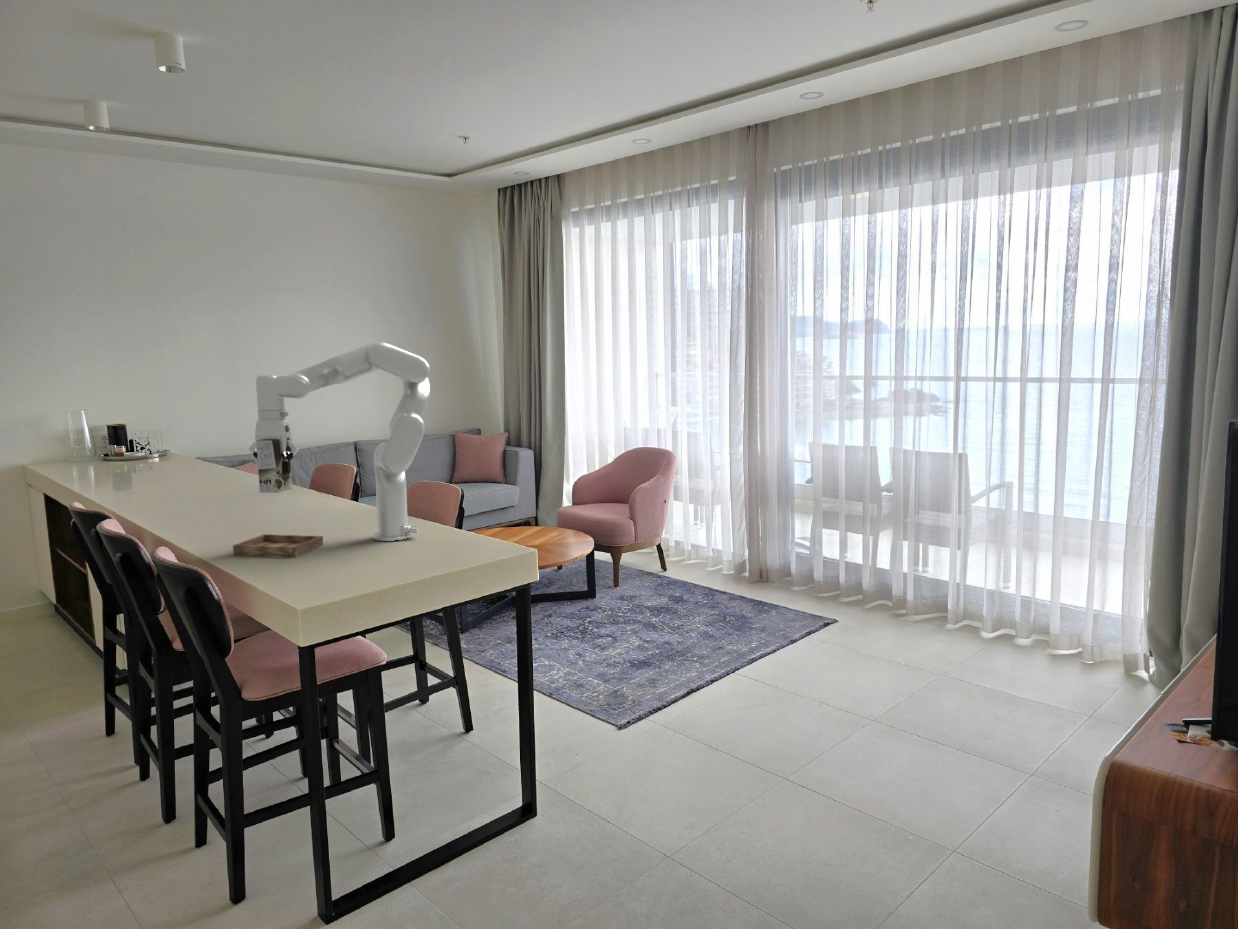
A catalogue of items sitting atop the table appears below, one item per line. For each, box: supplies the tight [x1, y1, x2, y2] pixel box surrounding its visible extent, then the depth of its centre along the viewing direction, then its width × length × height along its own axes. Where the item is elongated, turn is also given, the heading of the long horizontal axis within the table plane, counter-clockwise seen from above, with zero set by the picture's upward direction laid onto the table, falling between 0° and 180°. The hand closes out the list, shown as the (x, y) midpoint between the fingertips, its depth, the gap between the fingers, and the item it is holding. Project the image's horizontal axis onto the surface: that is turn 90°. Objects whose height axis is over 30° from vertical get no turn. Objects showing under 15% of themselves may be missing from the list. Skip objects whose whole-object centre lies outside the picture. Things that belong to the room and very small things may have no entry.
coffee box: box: [257, 439, 293, 494], centre depth 248 cm, size 9×6×16 cm
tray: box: [232, 533, 324, 558], centre depth 250 cm, size 20×16×3 cm
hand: (275, 473), depth 249 cm, fingers closed on coffee box, 6 cm apart
